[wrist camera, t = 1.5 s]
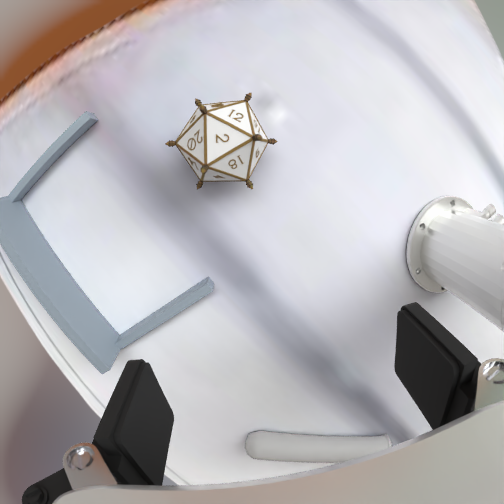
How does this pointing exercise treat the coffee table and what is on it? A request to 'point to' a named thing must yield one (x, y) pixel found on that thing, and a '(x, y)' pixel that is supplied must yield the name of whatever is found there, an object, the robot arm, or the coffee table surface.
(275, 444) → the tube
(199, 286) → the tray
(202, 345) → the coffee table surface
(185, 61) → the coffee table surface
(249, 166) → the game die
